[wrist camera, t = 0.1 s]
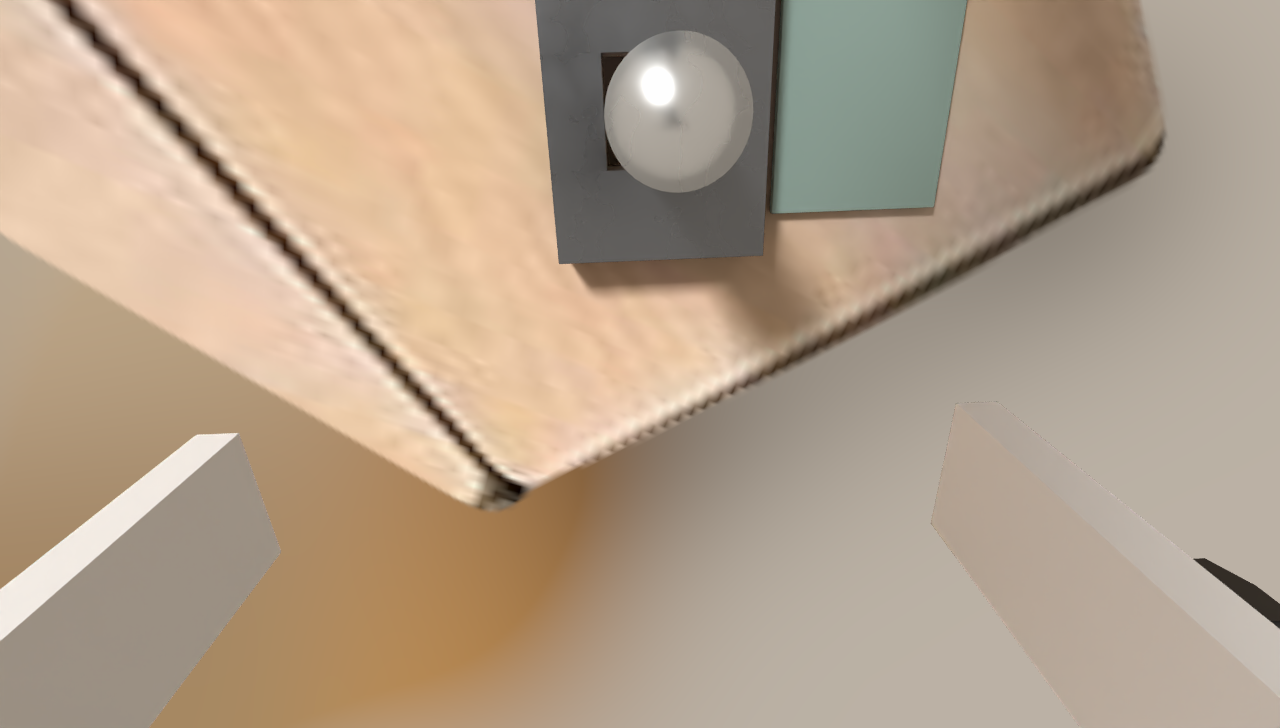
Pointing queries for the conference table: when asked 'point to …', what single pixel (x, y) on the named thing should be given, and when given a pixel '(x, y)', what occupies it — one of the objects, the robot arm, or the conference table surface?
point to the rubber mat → (862, 102)
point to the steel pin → (678, 111)
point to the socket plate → (608, 195)
